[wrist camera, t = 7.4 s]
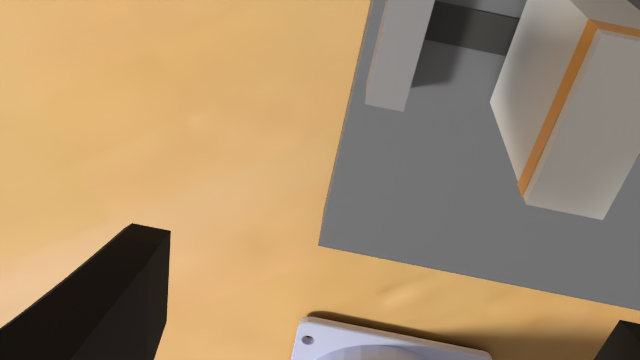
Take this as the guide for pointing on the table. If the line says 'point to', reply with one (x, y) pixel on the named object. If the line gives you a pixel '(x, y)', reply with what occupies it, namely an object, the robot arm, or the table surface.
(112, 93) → the table surface
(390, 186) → the console
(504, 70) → the fader tab
